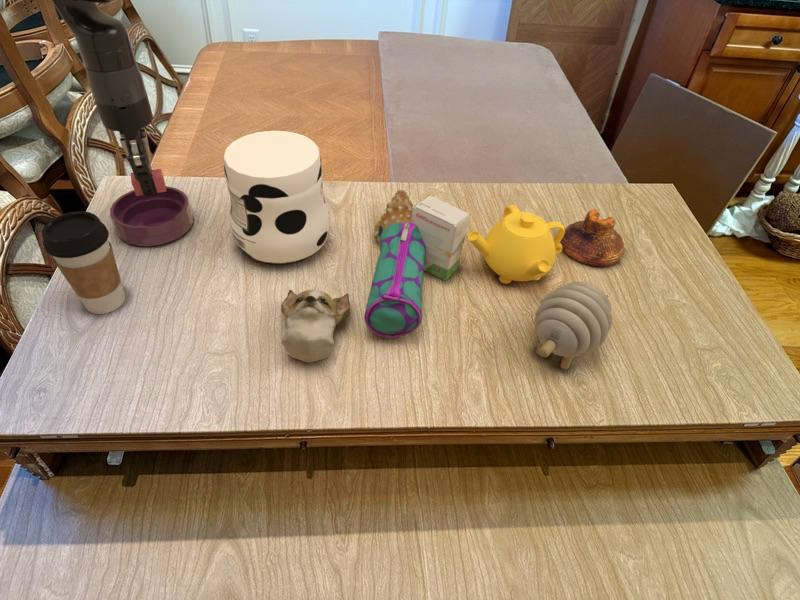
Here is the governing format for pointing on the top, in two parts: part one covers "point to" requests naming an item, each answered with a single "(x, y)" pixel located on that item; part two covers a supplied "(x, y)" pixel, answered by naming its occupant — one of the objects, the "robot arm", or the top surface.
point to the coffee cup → (85, 259)
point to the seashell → (396, 211)
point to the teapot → (519, 246)
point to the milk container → (276, 196)
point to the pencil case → (397, 282)
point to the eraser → (158, 182)
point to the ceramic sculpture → (312, 323)
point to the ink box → (441, 234)
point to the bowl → (152, 217)
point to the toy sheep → (572, 321)
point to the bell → (593, 241)
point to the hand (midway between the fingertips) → (149, 189)
